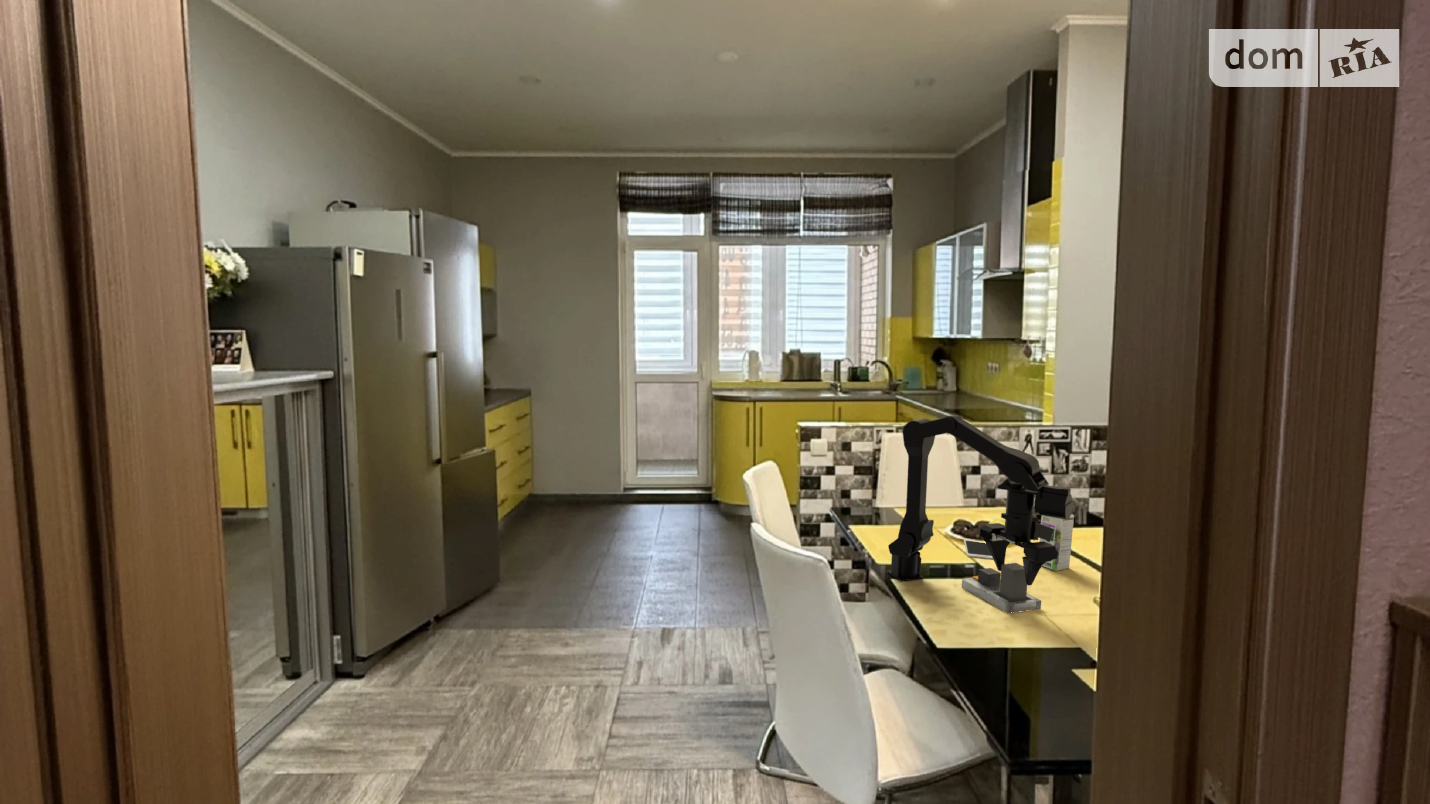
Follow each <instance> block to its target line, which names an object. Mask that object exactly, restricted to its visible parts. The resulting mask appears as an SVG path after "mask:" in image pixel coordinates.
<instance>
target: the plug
mask: <svg viewBox="0 0 1430 804" xmlns="http://www.w3.org/2000/svg"><path fill="white" fill-rule="evenodd" d="M1000 573H1001V577H1000V579H1001V580H1000V594H999V596H1000V597H1002V598H1004V599H1005V600H1007V601H1009V602H1011V603H1012V602H1019V601H1026V595H1027V593H1028V585H1027V583H1026V579H1025V572H1024V565H1022V564H1020V563H1017V562H1010V563H1009V562H1008V563H1004V564H1002V567H1001V571H1000Z"/></svg>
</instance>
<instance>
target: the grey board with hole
mask: <svg viewBox="0 0 1430 804" xmlns="http://www.w3.org/2000/svg"><path fill="white" fill-rule="evenodd" d="M977 572H978V573H977V575H974V576H972V577H969V578H963V579H961V588H962V589H964V590H966V591H968V592H970V593H971V594H972V595H975V596H977V597H978V596H979V597H978V598H980V599H981V598H982V599H981V600H984V602H987V603H989V604H990V603H991V604H990V605H992V604H993V605H992V606H993V607H995V608H997V607H998V608H997V609H999V610H1001V611H1002V610H1004V611H1005V612H1004V611H1003V612H1004V613H1006V612H1007V613H1006V614H1008V613H1010V614H1014V613H1013V612H1017V613H1020V612H1019V611H1024V612H1027V611H1026V610H1031V611H1037V610H1036V609H1038V610H1041V608H1042V600H1041V599H1039V598H1037V597H1035V596H1033V595H1032V594H1029V593H1028V592H1027V595H1026V601H1019V602H1012V603H1011V602H1009V601H1007V600H1005V599H1004V598H1002V597H1000V596H999V594H1000V580H1001V571H998V570H996V569H994V568H991V567H989V568H987V567H986V568H980V569H978V571H977ZM1011 612H1012V613H1011Z"/></svg>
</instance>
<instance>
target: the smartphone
mask: <svg viewBox="0 0 1430 804" xmlns="http://www.w3.org/2000/svg"><path fill="white" fill-rule="evenodd" d="M967 539H968V538H963V542H964V546H965V552H966V557H968V558H973V559H975V558H976V559H985V560H993V561H994V559H993V557H992V555H991V553H990V550H989V548H988V546H987V544H985V543H979V542H973V541H969V540H967Z"/></svg>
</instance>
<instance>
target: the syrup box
mask: <svg viewBox="0 0 1430 804" xmlns="http://www.w3.org/2000/svg"><path fill="white" fill-rule="evenodd" d="M1074 518H1075V514H1071V516H1070V518H1069V519H1068V520H1065V519H1059V518H1054V517H1049V516H1043V515H1041V520H1040V524H1042V525H1044V526H1047V527H1050V528H1052V529H1054V532H1053V535H1052V538H1051V540H1050V542H1047V541H1046V540H1044V539H1041V538H1039V542H1042V541H1044V542H1046V543H1049V544H1051V545H1054V546H1055V547H1056V548H1057V549H1058V557H1057V559H1054V560H1052V561H1048V562H1046V563H1044V564H1043V565H1042V567H1045V568H1046V569H1049V570H1051V571H1054V572H1057V571H1062V570H1066V569H1067V570H1068V569H1069V568H1070V562H1071V552H1072V542H1073V531H1074V530H1073V529H1074Z"/></svg>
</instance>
